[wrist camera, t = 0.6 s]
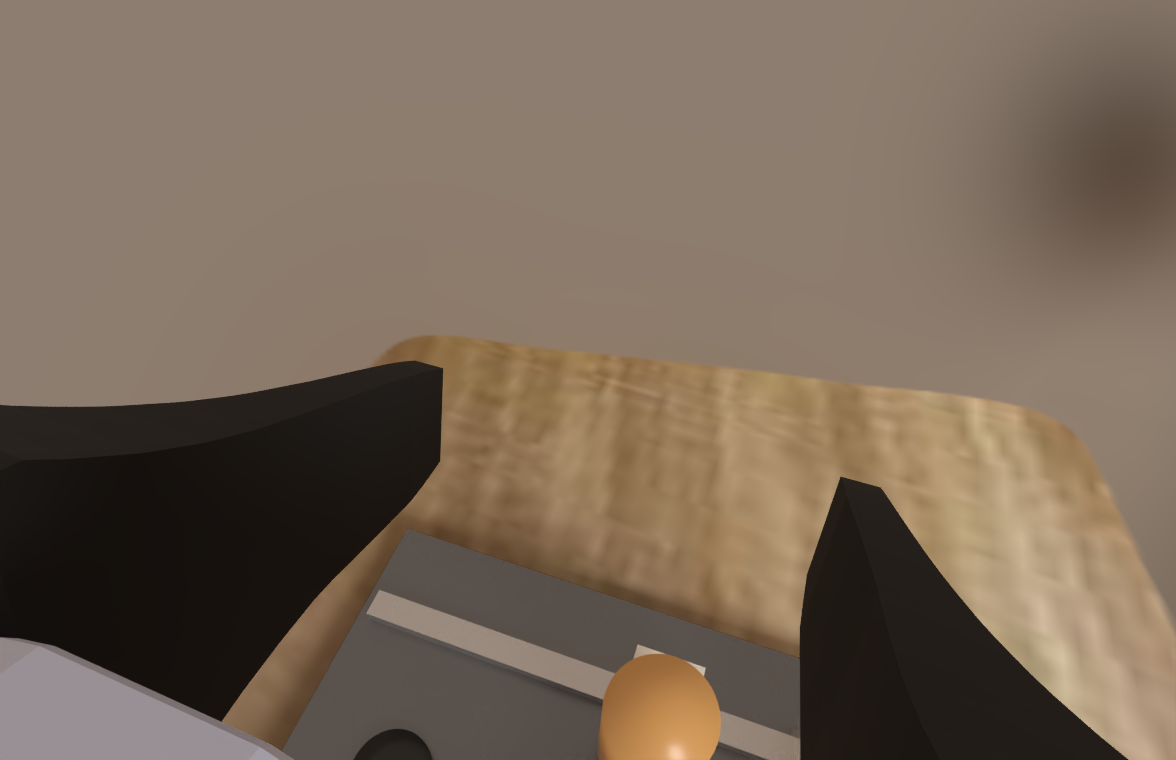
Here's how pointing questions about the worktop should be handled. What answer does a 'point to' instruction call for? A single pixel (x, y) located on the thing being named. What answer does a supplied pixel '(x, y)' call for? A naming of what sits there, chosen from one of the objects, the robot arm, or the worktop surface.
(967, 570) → the worktop surface
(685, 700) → the block with orange knob
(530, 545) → the worktop surface
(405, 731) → the hole plate
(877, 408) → the worktop surface
